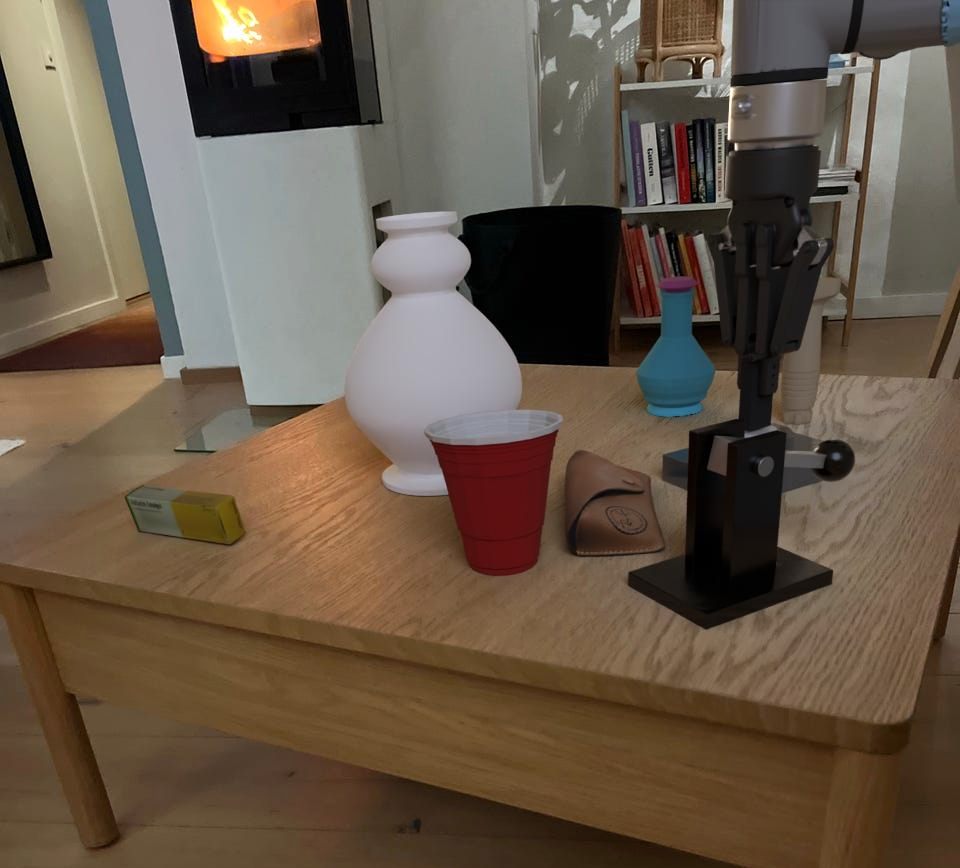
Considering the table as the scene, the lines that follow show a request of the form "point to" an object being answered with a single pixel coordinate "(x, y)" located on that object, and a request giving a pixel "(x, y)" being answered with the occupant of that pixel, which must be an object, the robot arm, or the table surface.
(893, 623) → the table surface
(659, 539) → the sunglasses case
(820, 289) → the handle
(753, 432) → the flush button
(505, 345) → the decorative vase
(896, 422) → the table surface
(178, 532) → the medication box
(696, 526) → the lever bracket
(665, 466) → the block
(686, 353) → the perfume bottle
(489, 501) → the plastic cup
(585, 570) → the table surface
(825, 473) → the lever with black ball
